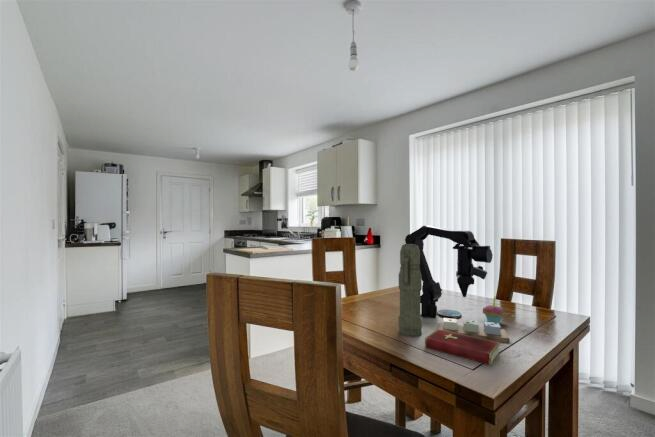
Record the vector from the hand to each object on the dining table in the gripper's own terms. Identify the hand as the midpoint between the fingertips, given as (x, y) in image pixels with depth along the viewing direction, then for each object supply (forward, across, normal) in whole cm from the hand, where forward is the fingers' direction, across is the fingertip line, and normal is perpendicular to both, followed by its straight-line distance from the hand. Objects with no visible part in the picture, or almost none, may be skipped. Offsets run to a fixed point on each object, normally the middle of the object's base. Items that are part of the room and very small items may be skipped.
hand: (464, 296), depth 134 cm
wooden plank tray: (+12, -11, -2) cm, 16 cm away
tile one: (+10, -11, +6) cm, 16 cm away
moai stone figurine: (+12, -18, +21) cm, 30 cm away
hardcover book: (+12, -29, +2) cm, 32 cm away
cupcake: (+12, +8, -12) cm, 19 cm away
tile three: (+10, -11, -9) cm, 17 cm away
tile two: (+10, -11, -2) cm, 15 cm away
